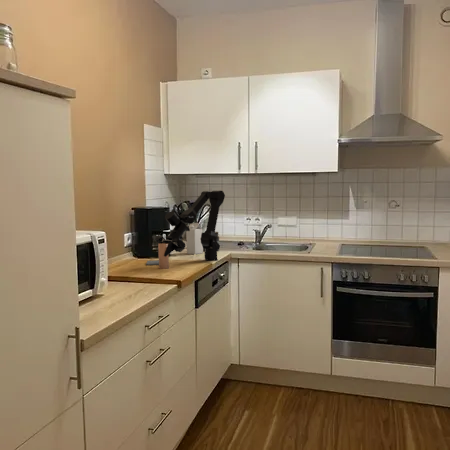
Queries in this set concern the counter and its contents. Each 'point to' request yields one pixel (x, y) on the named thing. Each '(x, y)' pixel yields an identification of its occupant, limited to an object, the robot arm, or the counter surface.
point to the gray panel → (153, 262)
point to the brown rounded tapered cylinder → (162, 259)
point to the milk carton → (194, 239)
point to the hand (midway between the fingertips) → (161, 255)
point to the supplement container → (216, 239)
